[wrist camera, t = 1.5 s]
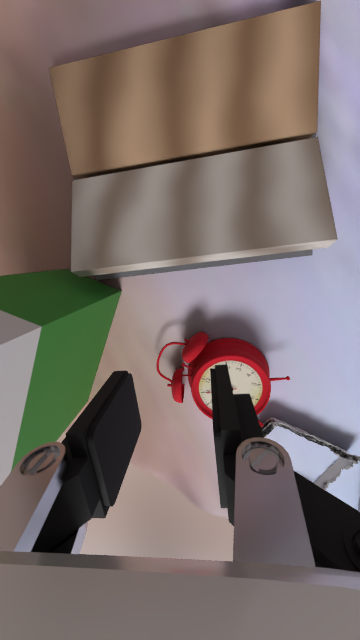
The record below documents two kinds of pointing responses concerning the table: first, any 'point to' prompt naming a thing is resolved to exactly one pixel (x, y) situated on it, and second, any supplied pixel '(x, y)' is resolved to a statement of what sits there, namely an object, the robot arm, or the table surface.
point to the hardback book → (47, 355)
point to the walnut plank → (192, 94)
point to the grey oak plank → (202, 210)
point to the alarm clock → (238, 355)
